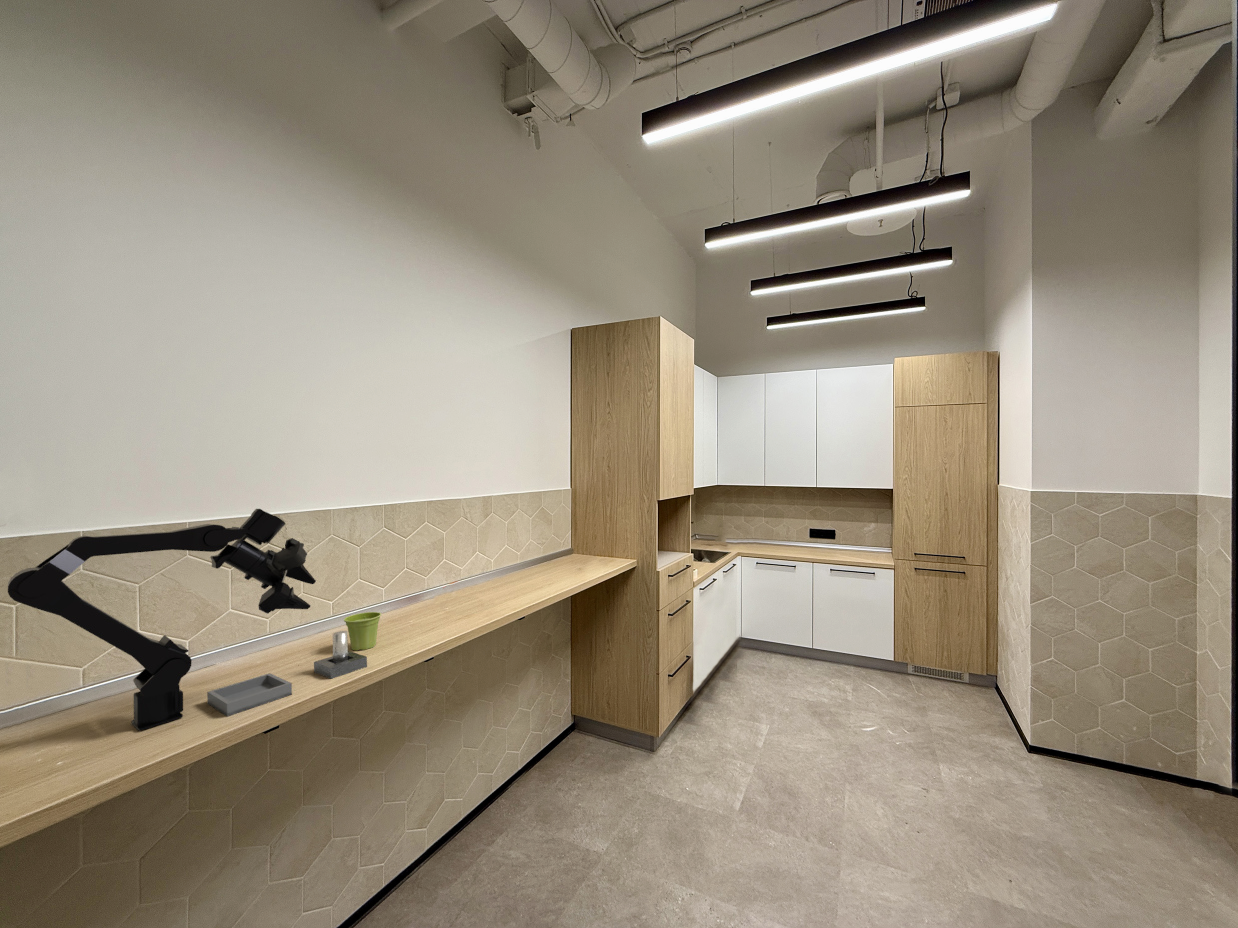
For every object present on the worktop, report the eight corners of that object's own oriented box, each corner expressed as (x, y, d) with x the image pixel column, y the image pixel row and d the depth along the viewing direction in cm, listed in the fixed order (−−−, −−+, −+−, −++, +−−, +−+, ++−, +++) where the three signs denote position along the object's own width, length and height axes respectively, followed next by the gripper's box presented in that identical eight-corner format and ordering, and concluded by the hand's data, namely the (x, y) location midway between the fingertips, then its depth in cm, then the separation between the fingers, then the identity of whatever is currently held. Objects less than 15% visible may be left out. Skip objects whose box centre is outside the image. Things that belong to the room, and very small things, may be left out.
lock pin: (337, 672, 120) (336, 635, 120) (330, 670, 122) (330, 633, 122) (350, 668, 123) (349, 631, 123) (344, 666, 125) (343, 630, 125)
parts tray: (227, 716, 99) (227, 703, 99) (207, 703, 105) (207, 691, 105) (291, 694, 108) (291, 682, 108) (269, 683, 115) (269, 672, 115)
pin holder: (331, 678, 116) (330, 668, 116) (314, 671, 121) (313, 661, 121) (367, 666, 123) (366, 656, 124) (349, 660, 128) (349, 650, 128)
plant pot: (356, 655, 133) (356, 622, 133) (337, 650, 138) (337, 618, 138) (388, 644, 141) (388, 613, 141) (369, 640, 145) (368, 610, 146)
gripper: (271, 564, 104) (333, 599, 113) (288, 517, 119) (341, 551, 128) (230, 597, 104) (295, 629, 113) (251, 545, 119) (307, 578, 128)
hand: (311, 594), depth 121 cm, fingers open, 9 cm apart
